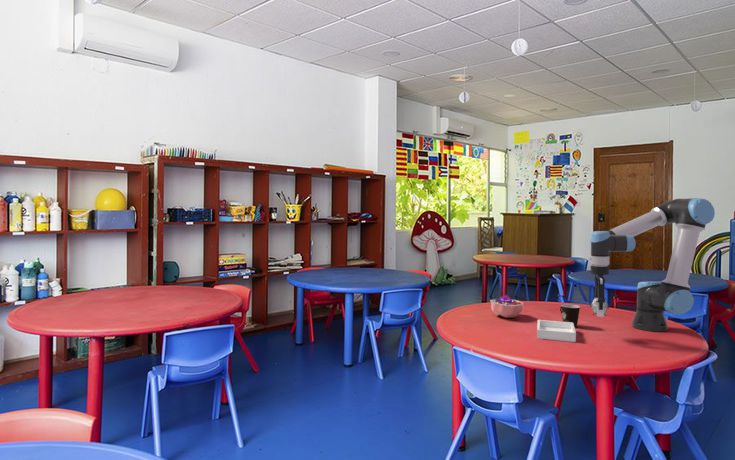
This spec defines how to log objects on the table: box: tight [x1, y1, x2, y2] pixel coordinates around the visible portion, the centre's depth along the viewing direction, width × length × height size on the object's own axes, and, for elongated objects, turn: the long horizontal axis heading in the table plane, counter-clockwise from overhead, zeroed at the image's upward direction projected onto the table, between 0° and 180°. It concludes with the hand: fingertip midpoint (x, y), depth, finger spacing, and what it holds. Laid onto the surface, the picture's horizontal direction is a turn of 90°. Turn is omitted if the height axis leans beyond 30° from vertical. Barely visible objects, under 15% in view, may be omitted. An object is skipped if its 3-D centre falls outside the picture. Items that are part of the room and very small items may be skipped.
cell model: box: [489, 294, 524, 319], centre depth 262 cm, size 17×20×11 cm
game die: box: [589, 296, 610, 317], centre depth 222 cm, size 9×8×10 cm
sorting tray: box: [536, 319, 577, 343], centre depth 226 cm, size 16×21×4 cm
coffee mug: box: [559, 303, 581, 329], centre depth 244 cm, size 12×9×10 cm
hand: (599, 314), depth 222 cm, fingers closed on game die, 10 cm apart
